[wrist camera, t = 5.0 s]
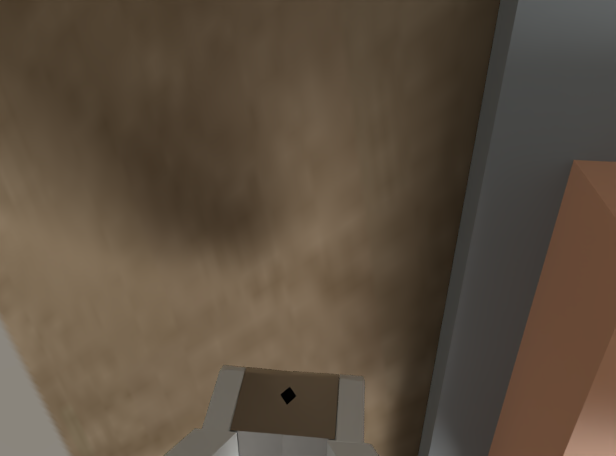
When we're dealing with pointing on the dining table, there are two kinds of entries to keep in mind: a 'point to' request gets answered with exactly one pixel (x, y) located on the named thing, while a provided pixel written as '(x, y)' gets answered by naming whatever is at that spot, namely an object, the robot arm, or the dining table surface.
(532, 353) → the t block
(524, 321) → the board
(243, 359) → the dining table surface
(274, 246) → the dining table surface
